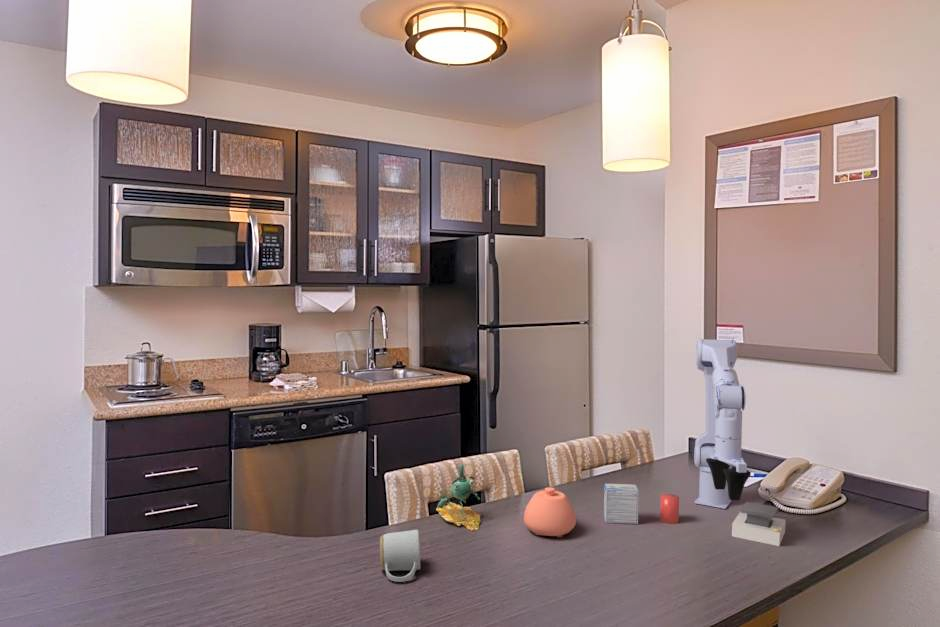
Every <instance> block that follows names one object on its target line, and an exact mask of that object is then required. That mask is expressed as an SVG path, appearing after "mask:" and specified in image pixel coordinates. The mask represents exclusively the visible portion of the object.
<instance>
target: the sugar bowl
mask: <svg viewBox="0 0 940 627" xmlns="http://www.w3.org/2000/svg"><path fill="white" fill-rule="evenodd" d="M576 517H577V516H576V514H575V511H574V507H573V505H572V504H571V501H570V500H569V498H568V497H567V495H566V494H565V493H563V492H562V491H558V490H556V489H555V488H554V487H552V486H549V487H544V490H539V491H536V492H535V493H534V494H532V497H531V498H530V500H529V501H528V504H527V505H526V507H525V510H524V514H523V522H524V525H525V526H526V527H527V529H529V531H530V532H532V533H533V534H534V535H535V534H536V536H547V537H555V536H556V538H562V537H563V536H564V535H567V534H569V533H570V532H571V531H572V530H573V529H574V527H575V526H576V523H577V521H576V520H577V519H576Z"/></svg>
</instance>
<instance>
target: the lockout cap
mask: <svg viewBox="0 0 940 627" xmlns="http://www.w3.org/2000/svg"><path fill="white" fill-rule="evenodd" d="M659 505H660V507H659V509H660V510H659V513H660V514H659V518H660V519H659V520H660V522H662V523H664V524H669V525H675V524H678V523H679V520H680V517H679V516H680V497H679V496H678V495H676V494H672V493H662V494H660V504H659Z"/></svg>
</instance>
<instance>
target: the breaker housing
mask: <svg viewBox="0 0 940 627" xmlns="http://www.w3.org/2000/svg"><path fill="white" fill-rule="evenodd" d="M786 521H787V520H786V519H784V518H779V517H774V519H773V518H771V524H770V526H769V528H768V527H763V526H758V525H753V524H748V523H747V514H746V513H741V510H740V511H739V513H738V514H737V516H736V517H735V518H734V520H733V522H732V523H731V527H732V528H731V537H734V538H738V539H744V540H748V541H752V542H758V543H761V544H767V545H771V546H777V547H780V545H781V543H782V541H783V538H784V535H785V534H786Z"/></svg>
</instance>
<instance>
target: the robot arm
mask: <svg viewBox="0 0 940 627" xmlns="http://www.w3.org/2000/svg"><path fill="white" fill-rule="evenodd" d="M695 346H696V348H695V352H696V353H695V355H696V362H695V364H696V366H697V369H698V370H699V371H702V372H703V374H704V375H703V376H704V379H705V432H703V433H702V434H700V435H698V436H697V437H696V438H695V440H694V450H693V458H694V459H693V460H694V466H695V467H696V468H699V476H698V477H699V479H698V480H699V483H698V485H699V486H698V488H699V489H698V497H697V498H696V499H695V500H694V504H697V505H702V506H708V507H713V508H719V509H724V510H725V509H727V508H728V506H729V505H730V504H731V502H732V501H740V500H741V496H742V493H743V490H744V487H745V485H746V483H747V481H748V479H749V478H750V477H751V474H752V473H751V471H750V470H748V464H747V463H746V462H745V460H744V458H743V456H742V444H743V443H742V442H743V440H742V438H743V437H742V434H743V411H745V409H746V402H747V400H746V398H747V397H746V396H747V395H746V390H745V386H744V385H743V384H742V383H740V382H739V377H738V374H737V371H736V370H735V369H734V368H735V364H736V362H737V359H738V342H737V341H736V340H735V339H710V338H709V339H706V338H705V339H704V338H698V340H696V345H695ZM713 444H714V445H713Z"/></svg>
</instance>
